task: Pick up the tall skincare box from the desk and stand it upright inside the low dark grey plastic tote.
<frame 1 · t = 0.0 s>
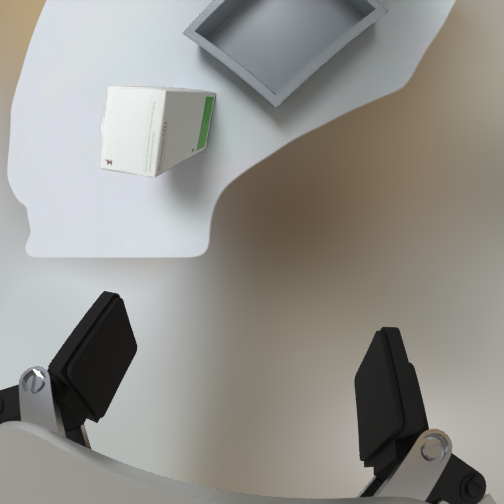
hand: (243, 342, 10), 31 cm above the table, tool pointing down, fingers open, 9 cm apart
tote: (286, 24, 28), on the table
skincare box: (188, 116, 36), on the table
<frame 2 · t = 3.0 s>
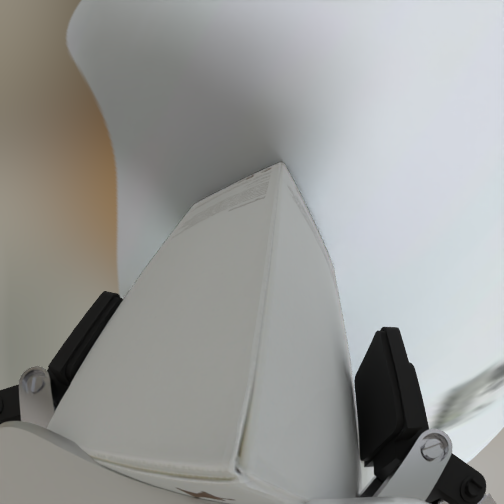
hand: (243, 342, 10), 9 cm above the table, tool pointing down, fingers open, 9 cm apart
skincare box: (271, 236, 19), on the table, touching gripper
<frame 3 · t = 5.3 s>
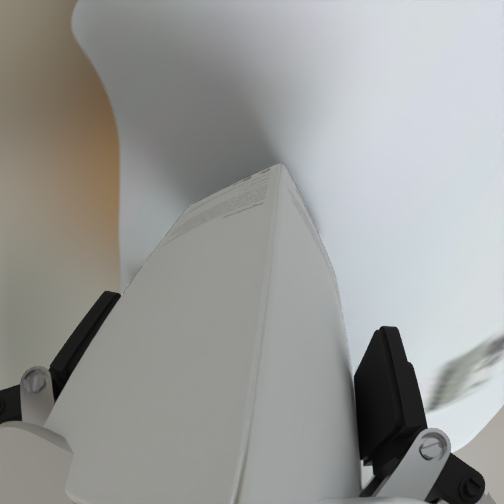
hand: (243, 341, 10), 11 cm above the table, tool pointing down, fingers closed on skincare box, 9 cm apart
skincare box: (269, 241, 17), point 3 cm above the table, touching gripper
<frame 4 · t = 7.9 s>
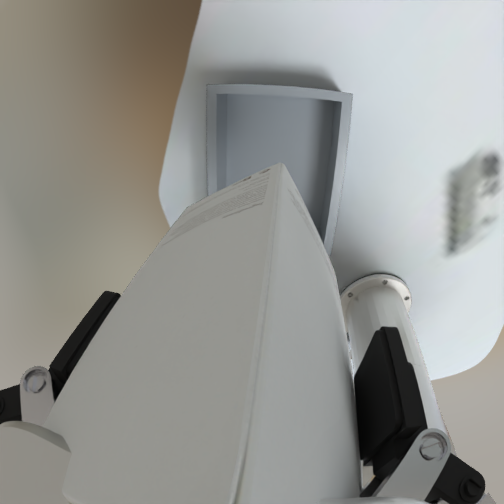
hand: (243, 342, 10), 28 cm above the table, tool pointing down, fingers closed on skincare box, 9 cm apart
tote: (277, 160, 34), on the table
skincare box: (269, 241, 17), point 20 cm above the table, touching gripper
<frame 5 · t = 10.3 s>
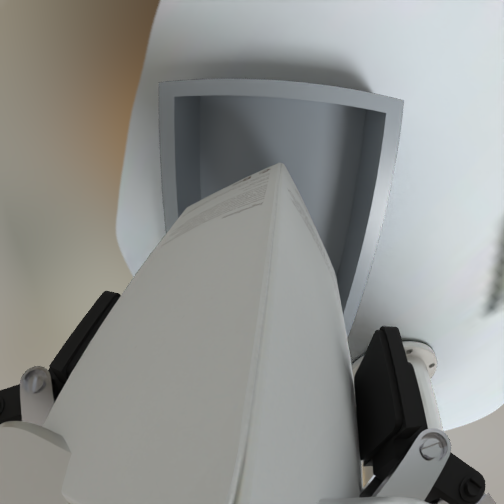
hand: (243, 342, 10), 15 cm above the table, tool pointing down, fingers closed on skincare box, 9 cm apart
tote: (276, 197, 23), on the table
skincare box: (269, 241, 17), point 7 cm above the table, touching gripper
when the fingers open (10 cm above the table, at t = 12.6 s): skincare box stays where it is, resting on tote.
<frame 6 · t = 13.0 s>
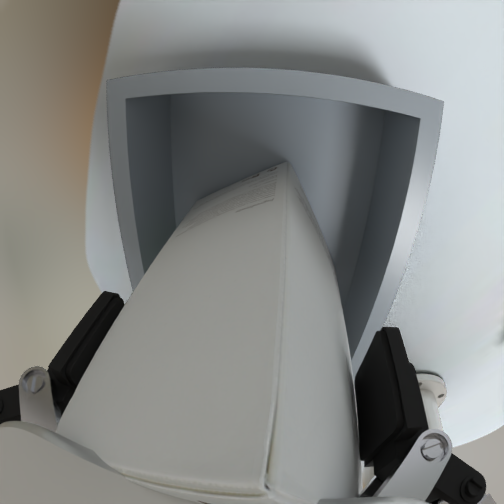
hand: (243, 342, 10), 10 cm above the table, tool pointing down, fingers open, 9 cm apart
tote: (269, 220, 19), on the table
skincare box: (273, 235, 18), point 1 cm above the table, touching gripper, tote
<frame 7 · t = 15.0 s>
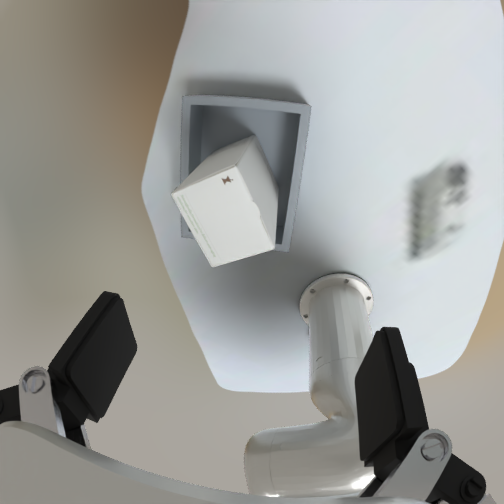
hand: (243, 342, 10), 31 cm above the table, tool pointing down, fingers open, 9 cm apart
tote: (246, 163, 38), on the table
skincare box: (248, 169, 37), point 1 cm above the table, touching tote
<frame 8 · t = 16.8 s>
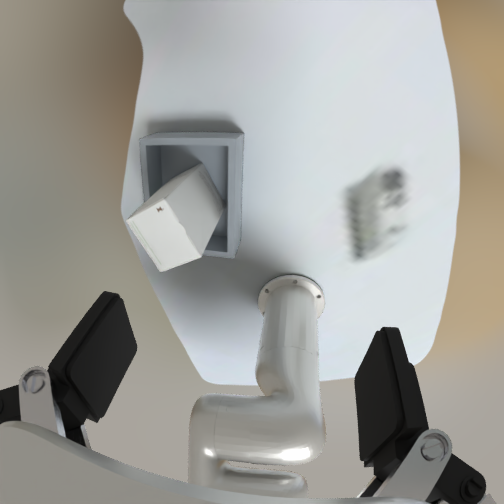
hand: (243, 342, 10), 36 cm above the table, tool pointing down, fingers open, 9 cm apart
tote: (199, 186, 46), on the table
skincare box: (200, 191, 45), point 1 cm above the table, touching tote
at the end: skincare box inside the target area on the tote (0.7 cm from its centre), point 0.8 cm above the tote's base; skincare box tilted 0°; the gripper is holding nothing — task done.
